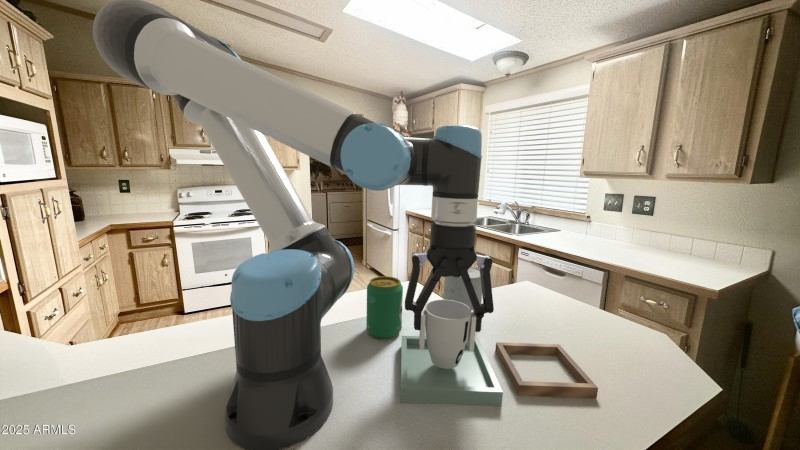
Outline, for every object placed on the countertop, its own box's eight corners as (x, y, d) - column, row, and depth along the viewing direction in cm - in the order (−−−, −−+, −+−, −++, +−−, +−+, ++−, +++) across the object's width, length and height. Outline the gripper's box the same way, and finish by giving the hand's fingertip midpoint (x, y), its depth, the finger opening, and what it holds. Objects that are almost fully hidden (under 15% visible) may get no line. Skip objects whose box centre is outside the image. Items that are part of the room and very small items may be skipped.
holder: (518, 395, 52) (519, 385, 51) (495, 351, 65) (496, 342, 64) (596, 398, 52) (598, 387, 51) (558, 353, 64) (559, 344, 64)
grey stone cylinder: (484, 328, 74) (488, 278, 72) (444, 326, 74) (447, 277, 72) (475, 310, 84) (478, 266, 81) (439, 309, 84) (442, 265, 81)
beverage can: (404, 339, 68) (405, 287, 66) (367, 341, 67) (367, 288, 65) (398, 322, 76) (400, 275, 74) (365, 323, 74) (366, 275, 72)
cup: (467, 377, 52) (472, 322, 50) (419, 370, 54) (422, 316, 52) (467, 351, 60) (471, 302, 58) (425, 345, 61) (427, 297, 60)
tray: (400, 402, 49) (401, 388, 49) (401, 346, 65) (401, 335, 65) (501, 406, 49) (502, 392, 49) (477, 349, 65) (478, 338, 65)
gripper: (390, 224, 49) (386, 356, 53) (524, 228, 49) (510, 360, 53) (392, 217, 56) (389, 333, 60) (508, 220, 56) (497, 337, 60)
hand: (445, 346), depth 56 cm, fingers closed on cup, 8 cm apart
